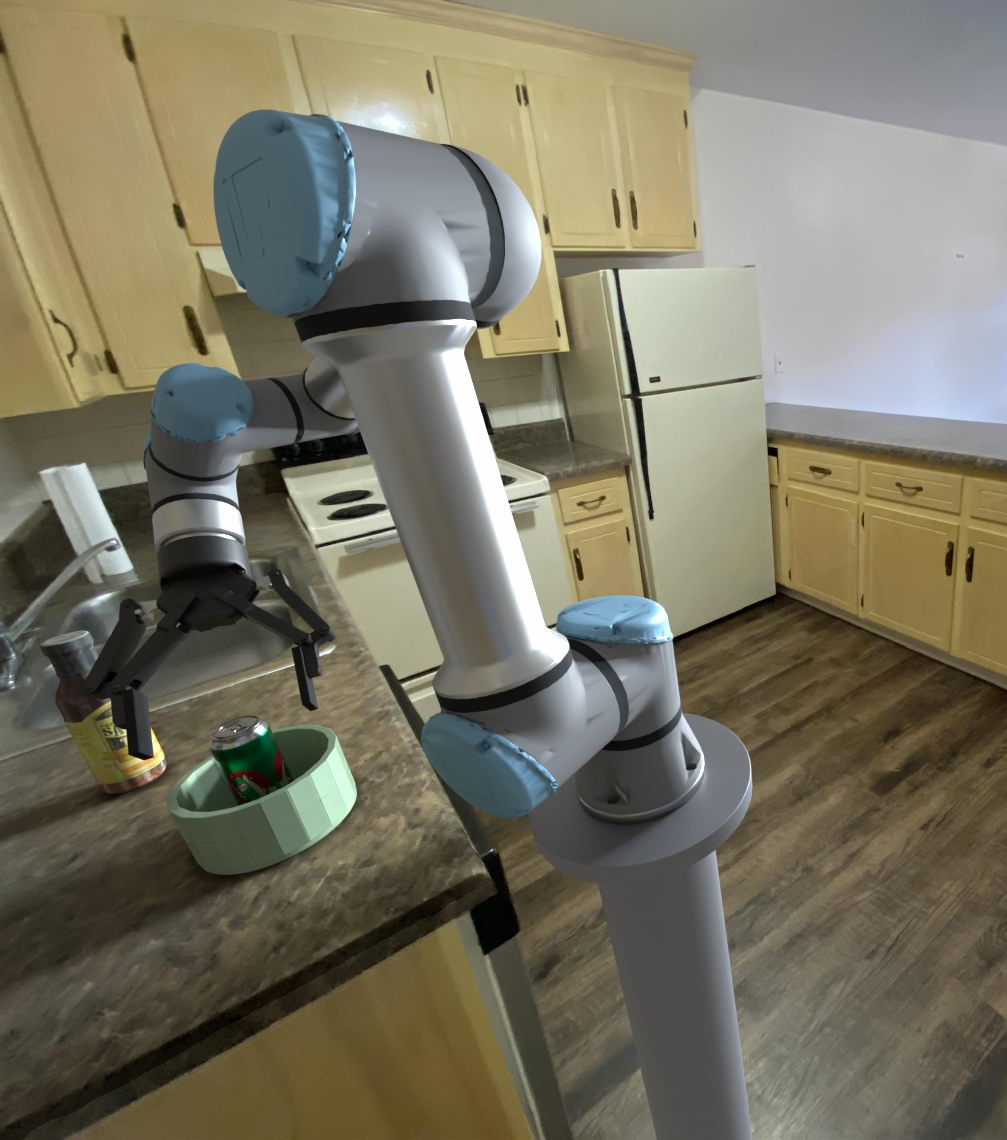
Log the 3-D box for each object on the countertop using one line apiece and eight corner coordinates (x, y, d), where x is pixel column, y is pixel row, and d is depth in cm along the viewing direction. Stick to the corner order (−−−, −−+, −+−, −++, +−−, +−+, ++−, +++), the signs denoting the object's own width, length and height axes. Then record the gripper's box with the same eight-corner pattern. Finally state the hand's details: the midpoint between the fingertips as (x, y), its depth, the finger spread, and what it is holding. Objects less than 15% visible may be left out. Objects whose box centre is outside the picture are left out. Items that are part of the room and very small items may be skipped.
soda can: (286, 795, 72) (246, 709, 67) (315, 805, 70) (276, 717, 65) (239, 827, 68) (193, 737, 63) (268, 838, 66) (223, 746, 61)
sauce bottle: (142, 794, 75) (60, 650, 67) (89, 799, 75) (1, 656, 67) (185, 758, 81) (114, 623, 73) (135, 763, 81) (59, 628, 73)
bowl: (358, 759, 78) (339, 710, 75) (355, 833, 66) (332, 778, 63) (213, 807, 72) (186, 755, 69) (181, 899, 60) (146, 840, 57)
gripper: (342, 541, 77) (379, 698, 71) (72, 594, 66) (85, 786, 60) (325, 509, 71) (363, 678, 64) (23, 562, 60) (32, 773, 53)
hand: (230, 730), depth 62 cm, fingers open, 13 cm apart
